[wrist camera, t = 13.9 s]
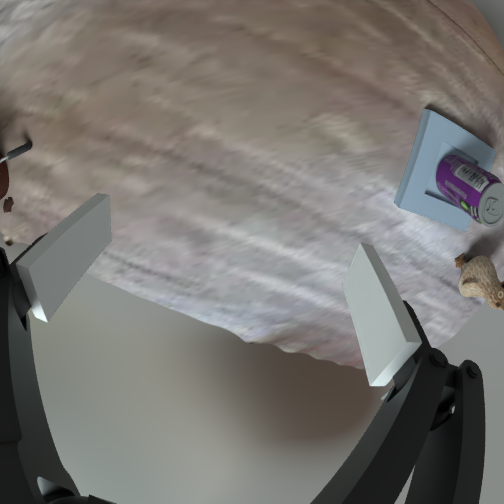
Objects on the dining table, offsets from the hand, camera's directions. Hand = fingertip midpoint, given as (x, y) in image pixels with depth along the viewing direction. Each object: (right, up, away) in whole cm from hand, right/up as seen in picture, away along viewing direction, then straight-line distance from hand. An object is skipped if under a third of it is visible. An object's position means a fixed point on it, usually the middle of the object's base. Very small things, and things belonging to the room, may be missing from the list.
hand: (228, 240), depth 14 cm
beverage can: (+33, +12, +21) cm, 40 cm away
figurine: (+45, -3, +31) cm, 54 cm away
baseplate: (+33, +12, +22) cm, 41 cm away
